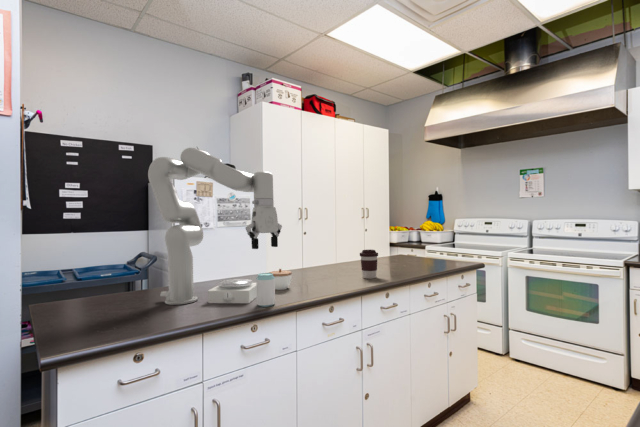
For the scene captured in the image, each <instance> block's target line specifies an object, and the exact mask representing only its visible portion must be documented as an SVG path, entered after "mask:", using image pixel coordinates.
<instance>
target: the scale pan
mask: <svg viewBox="0 0 640 427" xmlns="http://www.w3.org/2000/svg"><path fill="white" fill-rule="evenodd" d="M252 283H253V280H252V279H250V278H249V279H247V278H234V279H233V278H231V279H225V280H221V281H219V282H218V283H217V286H219V287H225V288H234V287H244V286H248V285H251V284H252Z"/></svg>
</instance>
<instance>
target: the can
mask: <svg viewBox="0 0 640 427" xmlns="http://www.w3.org/2000/svg"><path fill="white" fill-rule="evenodd" d="M255 281H256V282H255V283H256V289H257V297H256V305H257V306H259V307H263V308H265V307H272V306H274V305H275V303H276V289H275V278H274V276H273V274H272V273H269V272H262V273H261V272H260V273H258V274H257V276H256V280H255Z"/></svg>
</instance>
